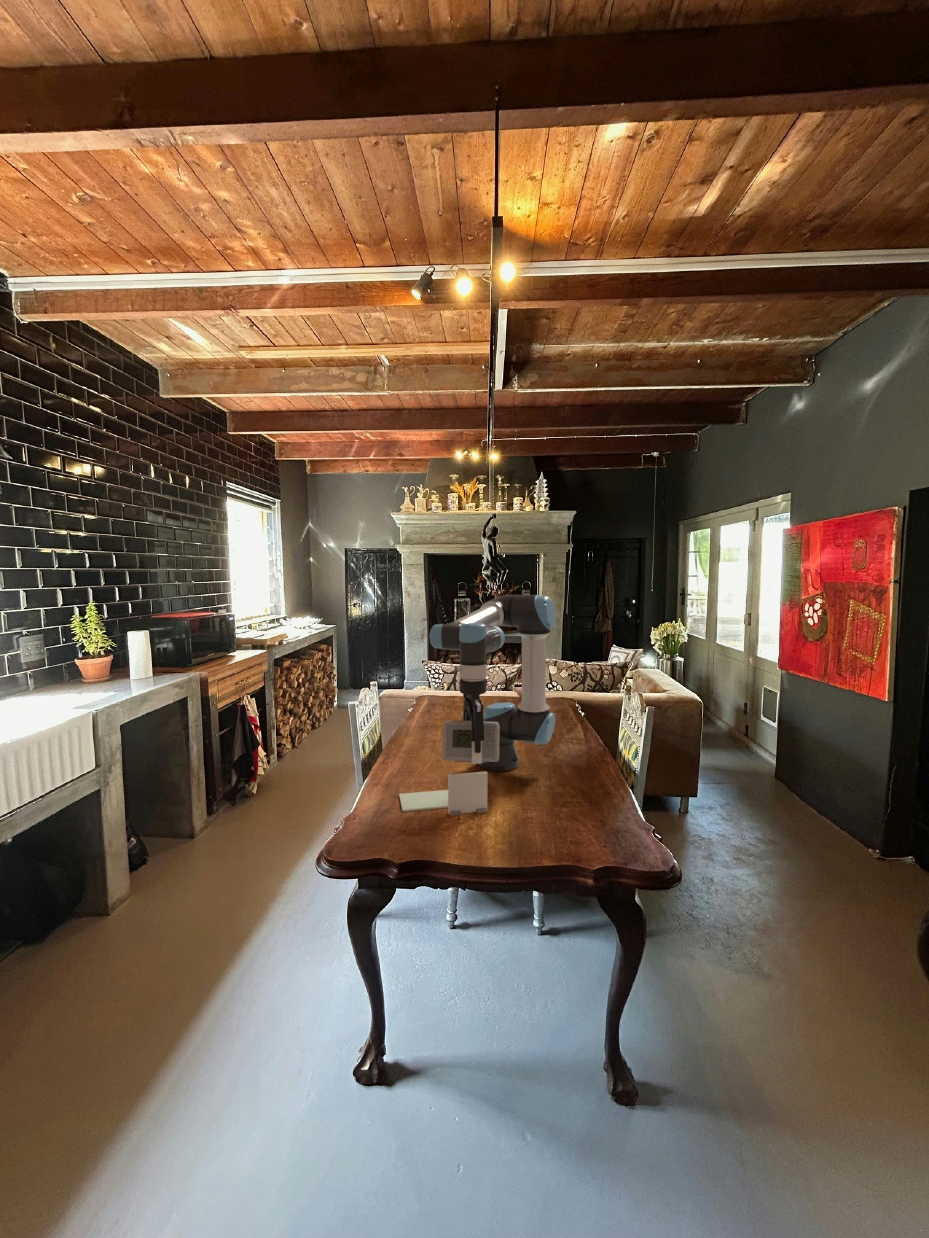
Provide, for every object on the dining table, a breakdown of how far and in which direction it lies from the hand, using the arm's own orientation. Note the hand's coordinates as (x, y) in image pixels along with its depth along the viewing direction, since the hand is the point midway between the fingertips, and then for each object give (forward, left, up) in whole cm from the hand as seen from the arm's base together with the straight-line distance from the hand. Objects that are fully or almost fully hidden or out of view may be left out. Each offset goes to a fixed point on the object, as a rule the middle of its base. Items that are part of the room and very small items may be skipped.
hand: (473, 757), depth 151 cm
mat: (+9, -20, -21) cm, 31 cm away
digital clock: (+1, +1, -1) cm, 1 cm away
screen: (-1, -10, -21) cm, 23 cm away
